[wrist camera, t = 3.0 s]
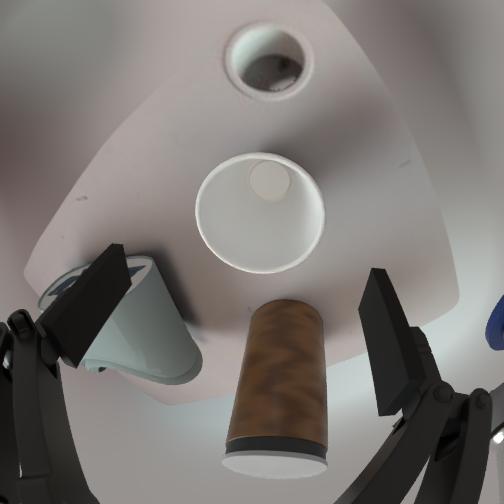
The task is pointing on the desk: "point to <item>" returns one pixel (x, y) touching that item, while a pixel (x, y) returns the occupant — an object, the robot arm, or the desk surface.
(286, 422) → the plinth
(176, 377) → the sage-green arched shell
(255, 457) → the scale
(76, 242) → the desk surface
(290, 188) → the cup
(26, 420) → the robot arm
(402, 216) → the desk surface
